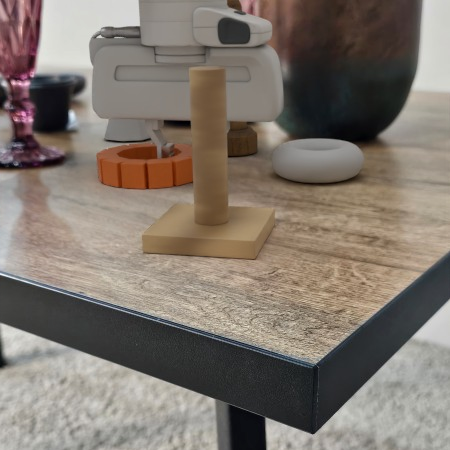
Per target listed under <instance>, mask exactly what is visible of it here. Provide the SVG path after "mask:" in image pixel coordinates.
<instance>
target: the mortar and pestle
mask: <svg viewBox="0 0 450 450" xmlns="http://www.w3.org/2000/svg"><path fill="white" fill-rule="evenodd" d="M227 5H228V7H229V8H232V9H235V10H240V11H243V7H242V2H241V1H240V0H227ZM258 148H259V147H258V132H257V131H255V130H254V129H253V127H251V126H250V125H248V122H238V121H230V129H229V131H228V133H227V153H228V157H241V156H249V155H253V154H255V153H257V152H258V151H259V150H258Z"/></svg>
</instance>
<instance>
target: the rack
mask: <svg viewBox="0 0 450 450" xmlns="http://www.w3.org/2000/svg"><path fill="white" fill-rule="evenodd" d="M189 84H190V111H191V121H190V132H191V136H190V137H191V146H192V165H193V182H192V187H193V188H192V189H193V204H191V203H174V204H172V206H170V208H169V209H167V210H166V211H165V212H164V213H163V214H162V215H161V216H160V217H159V218H158V219H157V220H155V222H154V223H152V225H151V226H150V227H148V228H147V229H146V230H145V231H144V232H143V233H142V234H141V242H142V245H141V246H142V253H144V254H145V253H146V254H148V253H149V254H163V255H178V256H180V255H181V256H194V257H210V258H212V257H213V258H228V259H244V260H246V259H247V260H256V259H257V257H258V255H259V253H260V251H261V250H262V248H263V246H264V244H265V243H266V241H267V239H268V238H269V235H270V233H271V232H272V230H273V228H274V227H275V225H276V208H275V207H259V206H236V205H234V206H233V205H229V164H228V163H229V162H228V157H229V156H228V153H227V98H226V67H222V66H199V67H191V68H189Z"/></svg>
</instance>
